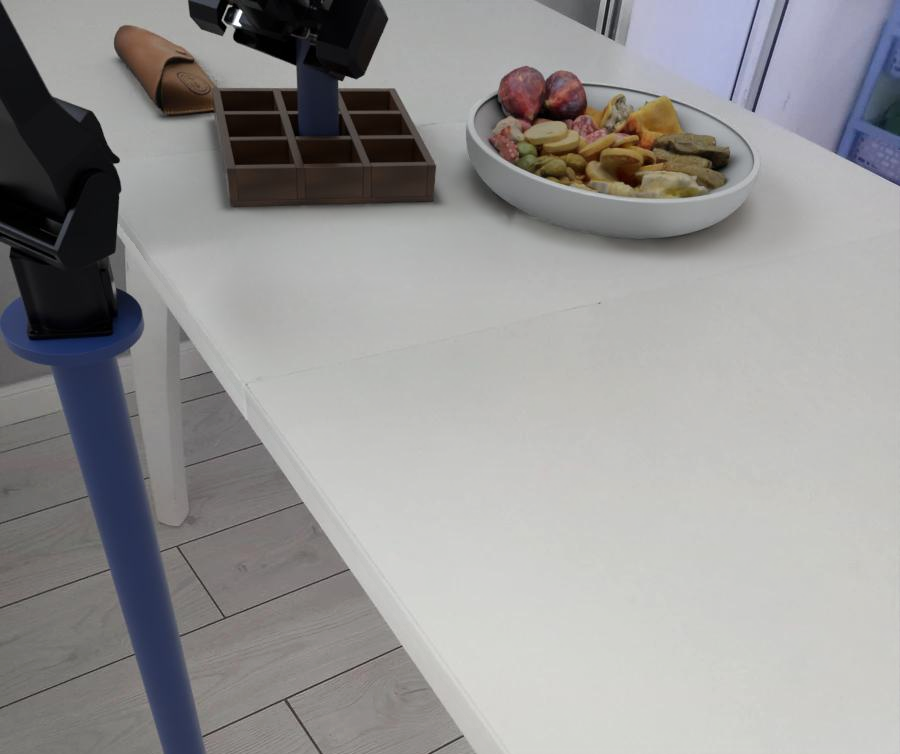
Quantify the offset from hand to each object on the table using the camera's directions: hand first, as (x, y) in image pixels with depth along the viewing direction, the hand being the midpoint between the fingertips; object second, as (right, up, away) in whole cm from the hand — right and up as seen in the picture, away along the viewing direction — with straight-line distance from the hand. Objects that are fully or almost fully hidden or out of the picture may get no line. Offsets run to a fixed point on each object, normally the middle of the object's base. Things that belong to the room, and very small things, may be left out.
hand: (326, 70), depth 87 cm
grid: (-1, -6, +5) cm, 8 cm away
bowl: (+28, -8, +7) cm, 30 cm away
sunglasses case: (-20, +7, +15) cm, 26 cm away
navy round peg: (-1, -5, +4) cm, 7 cm away
